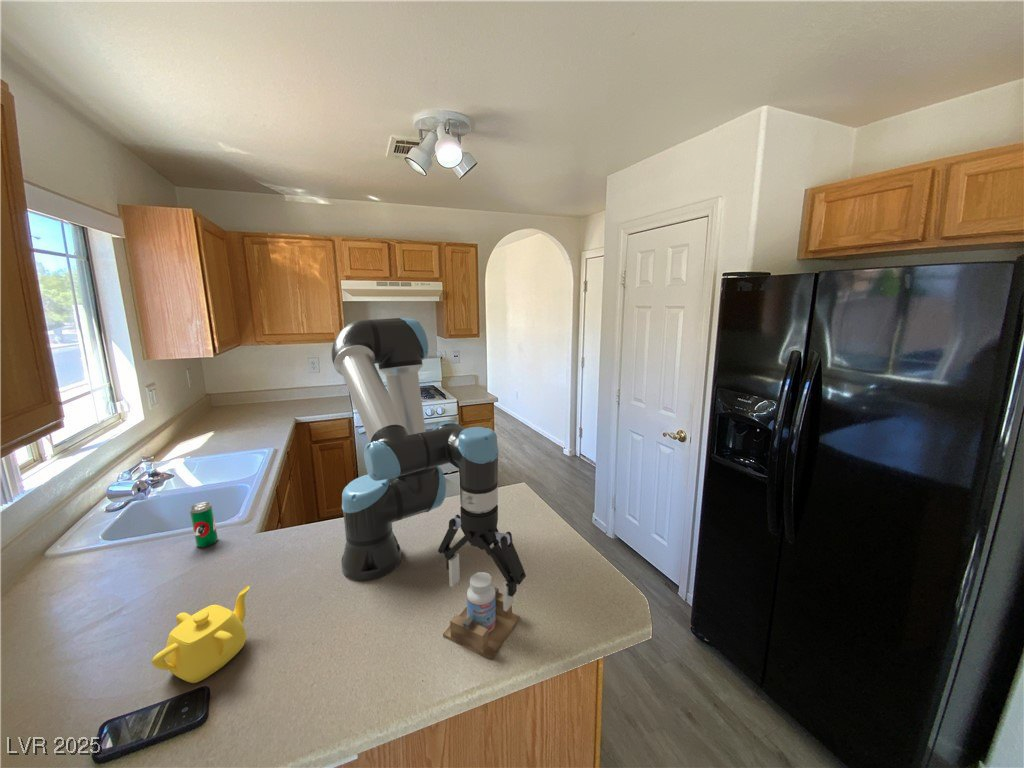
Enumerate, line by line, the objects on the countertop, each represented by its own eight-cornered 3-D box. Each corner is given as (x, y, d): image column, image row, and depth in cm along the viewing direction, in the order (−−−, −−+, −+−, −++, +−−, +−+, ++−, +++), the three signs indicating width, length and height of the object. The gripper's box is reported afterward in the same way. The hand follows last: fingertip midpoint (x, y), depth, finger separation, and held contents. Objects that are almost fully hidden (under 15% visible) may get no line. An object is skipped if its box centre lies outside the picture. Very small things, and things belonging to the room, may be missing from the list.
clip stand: (442, 636, 85) (441, 613, 84) (475, 599, 95) (474, 578, 94) (491, 660, 79) (490, 636, 78) (520, 618, 90) (520, 596, 88)
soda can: (221, 541, 119) (214, 504, 116) (201, 550, 114) (193, 512, 112) (213, 536, 121) (206, 499, 119) (193, 544, 117) (185, 507, 114)
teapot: (186, 639, 85) (177, 597, 83) (257, 623, 89) (250, 582, 87) (155, 700, 72) (143, 652, 70) (239, 677, 76) (230, 631, 74)
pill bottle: (474, 640, 83) (473, 593, 81) (463, 620, 88) (461, 575, 86) (500, 629, 86) (500, 583, 84) (488, 610, 91) (487, 566, 89)
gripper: (418, 496, 84) (423, 584, 89) (525, 532, 72) (524, 631, 77) (441, 482, 90) (444, 564, 95) (543, 512, 78) (541, 604, 83)
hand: (480, 594), depth 86 cm, fingers open, 13 cm apart
